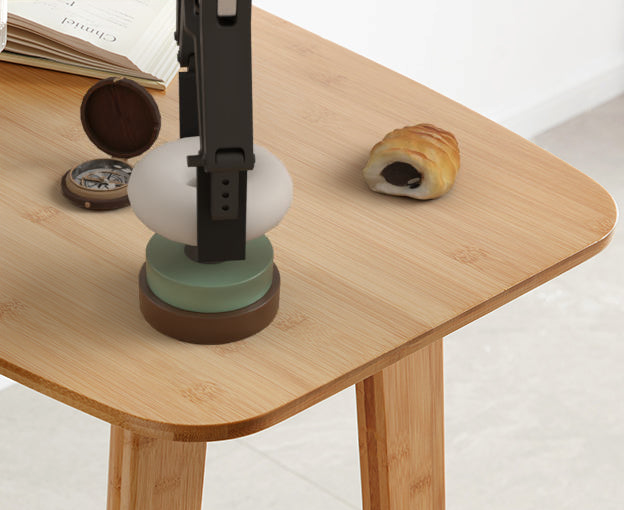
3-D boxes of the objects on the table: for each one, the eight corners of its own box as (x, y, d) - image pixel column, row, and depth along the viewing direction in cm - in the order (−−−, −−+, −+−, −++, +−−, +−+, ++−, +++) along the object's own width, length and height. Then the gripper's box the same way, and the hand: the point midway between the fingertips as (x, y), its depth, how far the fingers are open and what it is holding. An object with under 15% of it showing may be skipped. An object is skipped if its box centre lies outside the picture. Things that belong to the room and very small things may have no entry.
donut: (274, 270, 65) (306, 183, 73) (276, 219, 63) (308, 135, 71) (106, 246, 66) (155, 163, 74) (102, 195, 64) (153, 115, 72)
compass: (47, 205, 82) (39, 113, 77) (89, 155, 88) (83, 67, 84) (153, 223, 80) (150, 131, 76) (188, 171, 87) (187, 83, 82)
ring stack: (135, 266, 76) (133, 215, 74) (268, 259, 78) (270, 208, 75) (144, 349, 69) (142, 295, 67) (290, 339, 71) (292, 286, 68)
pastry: (395, 138, 93) (400, 96, 91) (474, 157, 91) (482, 114, 89) (356, 190, 86) (361, 145, 84) (442, 212, 84) (449, 166, 82)
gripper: (329, -111, 48) (303, 314, 61) (253, -225, 66) (246, 123, 79) (150, -111, 46) (163, 324, 60) (122, -228, 64) (137, 127, 77)
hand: (210, 209), depth 69 cm, fingers closed on donut, 10 cm apart
